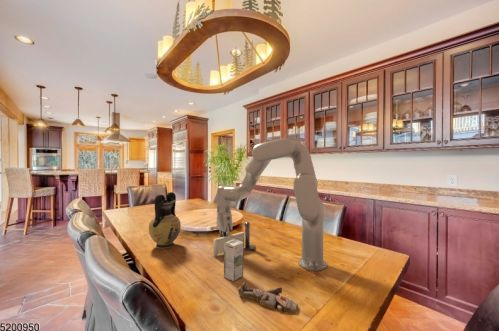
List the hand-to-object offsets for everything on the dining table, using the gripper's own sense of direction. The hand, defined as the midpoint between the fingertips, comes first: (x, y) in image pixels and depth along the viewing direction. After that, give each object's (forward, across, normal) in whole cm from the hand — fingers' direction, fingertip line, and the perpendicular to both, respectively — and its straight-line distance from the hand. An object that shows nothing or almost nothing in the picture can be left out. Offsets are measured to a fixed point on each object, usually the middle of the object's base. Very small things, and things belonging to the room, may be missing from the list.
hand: (223, 242), depth 121 cm
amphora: (+5, +25, +24) cm, 35 cm away
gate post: (+4, -6, -13) cm, 15 cm away
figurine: (+4, -48, +8) cm, 49 cm away
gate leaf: (+3, -4, -2) cm, 5 cm away
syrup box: (+4, -27, +10) cm, 29 cm away
